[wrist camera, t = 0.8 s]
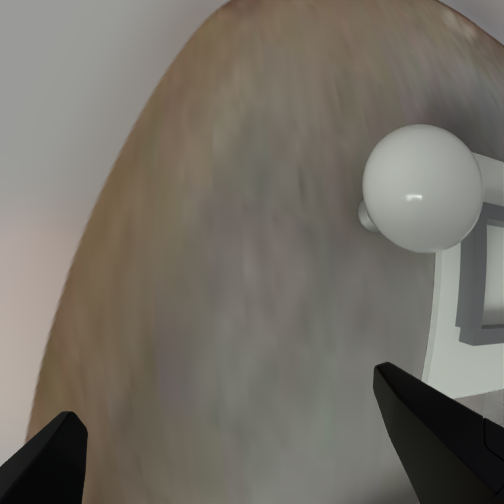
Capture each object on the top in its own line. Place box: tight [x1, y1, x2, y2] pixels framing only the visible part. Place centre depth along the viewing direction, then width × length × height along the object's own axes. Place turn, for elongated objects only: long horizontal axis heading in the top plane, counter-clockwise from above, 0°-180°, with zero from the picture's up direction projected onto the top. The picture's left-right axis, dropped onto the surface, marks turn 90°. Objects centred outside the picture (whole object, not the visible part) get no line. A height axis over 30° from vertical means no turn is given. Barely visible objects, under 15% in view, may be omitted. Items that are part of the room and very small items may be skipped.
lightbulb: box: [358, 124, 484, 253], centre depth 16 cm, size 6×6×11 cm
